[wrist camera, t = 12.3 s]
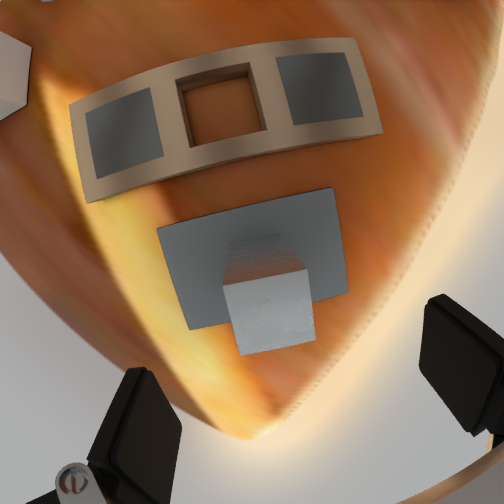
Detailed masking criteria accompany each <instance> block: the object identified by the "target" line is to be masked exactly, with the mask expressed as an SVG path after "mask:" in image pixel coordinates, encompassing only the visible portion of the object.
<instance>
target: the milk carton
mask: <svg viewBox="0 0 504 504" xmlns="http://www.w3.org/2000/svg"><path fill="white" fill-rule="evenodd" d="M31 50H32V48H31V47H30V46H28V45H26V44H24V43H22V42H20V41H18V40H16V39H14V38H13V37H11V36H9V35H7V34H5V33H2V32H0V120H2V119H4V118H5V117H7V116H8V115H10V114H12V113H13V112H15V111H17V110H18V109H20V108H22V107H23V106H25V105H26V104H27V87H28V75H29V65H30V57H31Z"/></svg>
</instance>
